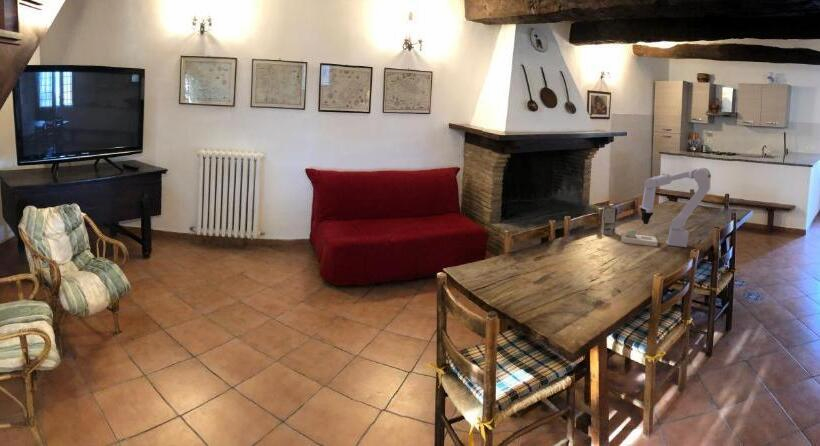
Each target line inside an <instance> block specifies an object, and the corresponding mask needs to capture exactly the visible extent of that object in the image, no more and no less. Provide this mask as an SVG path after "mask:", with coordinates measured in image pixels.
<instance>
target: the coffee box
mask: <svg viewBox="0 0 820 446" xmlns="http://www.w3.org/2000/svg"><path fill="white" fill-rule="evenodd" d="M602 209H603V211H602V216H601V217H602V218H601V224H600V232H601V234H602V235H604V236H611V237H613V236H615V230H616V229H615V228H616V221H617V216H618V210H619V209H618V208H617V206H615V205H610V204H609V205H608V204H605V205H603V208H602Z"/></svg>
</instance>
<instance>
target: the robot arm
mask: <svg viewBox="0 0 820 446" xmlns="http://www.w3.org/2000/svg"><path fill="white" fill-rule="evenodd" d="M686 178H688V179H691V180H692V179H694V181H695V182H696V184H697V186H698V188H697V190H696V191H695V193H694V194H693V195H692V197H691V198H690V199H689V201H688V202H687V203H686V204H685V206H684V207H683V209H682V210H681V211H680V212H679V214H678V215H677V216H675V218H673V219H671V221H670V222H669V224H670V227H669V233H668V238H667V240H665V242H666V244H667V245H668V246H673V247H674V246H675V247H679V248H680V247H681V248H682V247H683V248H687V247H688V241H689V235H690V232H689V230H687V229H685V226H686V224H687V220H688V218H690V215H691V214H692V213H693V212H694V210H695V209H696V208H697V206H698V205H699V204H700V203H701V201H702V200H703V199H704V198H705V196H706V195H707V193H708V192H710V189H711V178H712V175H711V172H710V170H709V169H708V168H706V167H700V168H693V169H688V170H685V171H681V172H677V173H674V174H668V173H664V172H663V173H662V174H660V175H657V176H656V175H653V176H652V177H649V178H647V179H646V180H644V182H643V183H644V184H643V185H644V191H643V196H642V201H641V203H642V204H641V205H639V207H638V208H639V209H640V213H641V221H642V222H643V225H649V222H650V219H651V217H652V216H653V215H654V212H651V211H652V210H653V209H654V201H655V196H656V189H657V188H656V187H661V186H662V187H663V186H667V185H670V184H671V183H672V181H677V180H681V179H686Z"/></svg>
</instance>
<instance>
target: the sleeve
mask: <svg viewBox="0 0 820 446" xmlns="http://www.w3.org/2000/svg"><path fill="white" fill-rule="evenodd" d="M627 234H628V236H627V237H628V238H635V235H637V231H636V230H635V229H628V231H627Z"/></svg>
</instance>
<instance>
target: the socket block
mask: <svg viewBox="0 0 820 446" xmlns="http://www.w3.org/2000/svg"><path fill="white" fill-rule="evenodd" d="M627 236H628V233H625V232H621V233H620V241H621V243H623V244H624V243H626V244H632V245H642V246H650V247H658V240H657V238H656V236H651V235H644V234H642V235H641V234H635V238H628V237H627Z"/></svg>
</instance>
